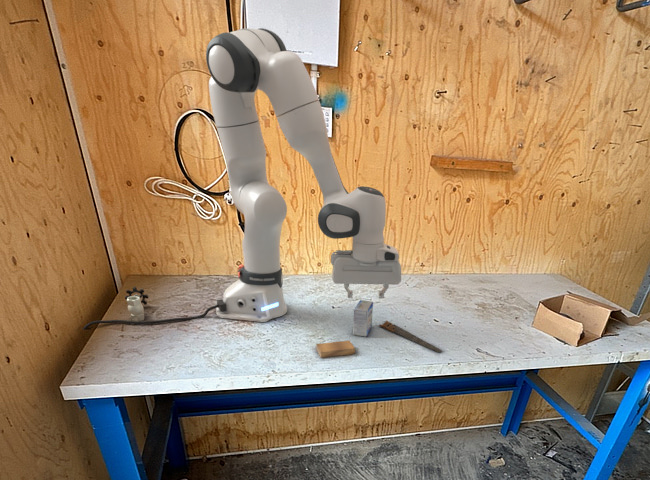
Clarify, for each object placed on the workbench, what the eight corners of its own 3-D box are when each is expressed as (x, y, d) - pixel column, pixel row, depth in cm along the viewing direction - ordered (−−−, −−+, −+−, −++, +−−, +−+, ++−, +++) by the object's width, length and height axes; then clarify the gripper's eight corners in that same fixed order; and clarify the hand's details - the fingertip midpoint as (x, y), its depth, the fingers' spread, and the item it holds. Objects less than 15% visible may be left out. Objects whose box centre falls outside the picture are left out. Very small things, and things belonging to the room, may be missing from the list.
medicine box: (366, 337, 133) (368, 310, 128) (352, 335, 133) (353, 308, 128) (371, 326, 139) (373, 301, 134) (358, 324, 140) (359, 299, 135)
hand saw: (446, 348, 131) (447, 346, 130) (438, 353, 128) (438, 351, 127) (386, 321, 143) (386, 320, 143) (377, 325, 140) (377, 323, 140)
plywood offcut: (321, 357, 120) (321, 352, 119) (316, 349, 124) (316, 343, 123) (354, 353, 123) (355, 348, 122) (349, 345, 127) (349, 340, 126)
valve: (150, 320, 131) (150, 305, 140) (145, 299, 127) (146, 285, 136) (125, 322, 128) (127, 307, 137) (120, 301, 125) (122, 287, 134)
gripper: (331, 253, 118) (331, 301, 126) (404, 255, 121) (400, 301, 129) (330, 246, 123) (330, 293, 131) (401, 248, 126) (397, 293, 134)
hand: (365, 297), depth 130 cm, fingers open, 8 cm apart
